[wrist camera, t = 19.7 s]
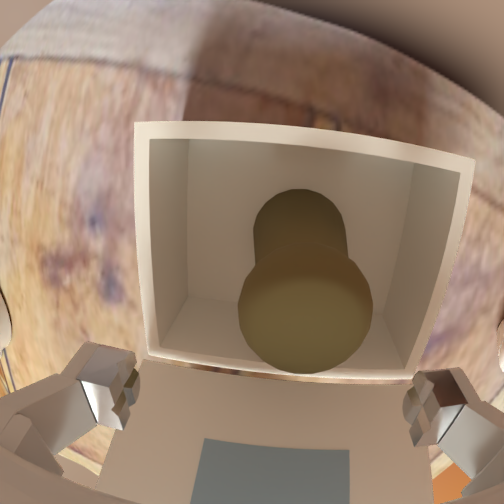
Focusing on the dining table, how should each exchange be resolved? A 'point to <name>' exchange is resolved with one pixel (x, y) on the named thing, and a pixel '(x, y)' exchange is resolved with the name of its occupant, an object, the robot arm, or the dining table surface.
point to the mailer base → (242, 242)
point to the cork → (303, 287)
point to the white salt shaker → (500, 344)
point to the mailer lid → (264, 442)
